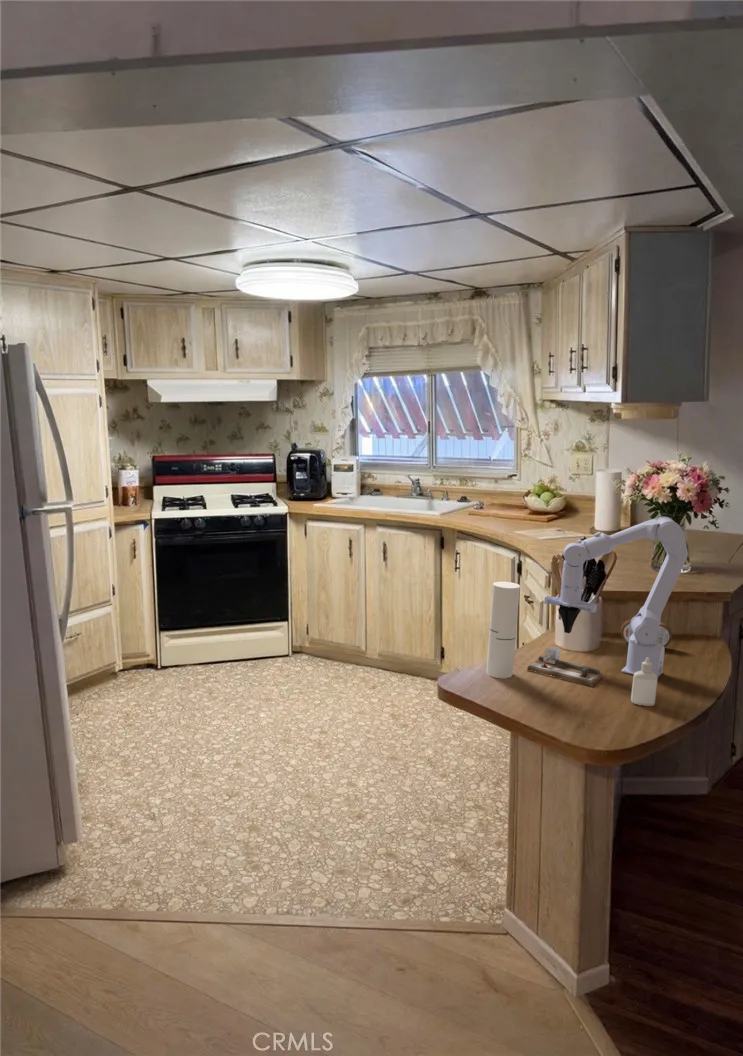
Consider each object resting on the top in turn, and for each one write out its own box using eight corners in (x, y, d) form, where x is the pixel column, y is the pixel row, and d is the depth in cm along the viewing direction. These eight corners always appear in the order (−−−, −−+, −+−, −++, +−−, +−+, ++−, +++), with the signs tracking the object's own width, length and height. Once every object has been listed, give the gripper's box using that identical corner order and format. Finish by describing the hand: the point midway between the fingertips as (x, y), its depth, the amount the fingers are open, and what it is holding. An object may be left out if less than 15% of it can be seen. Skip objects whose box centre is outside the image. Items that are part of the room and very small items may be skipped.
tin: (670, 648, 235) (673, 622, 234) (670, 651, 232) (673, 625, 231) (619, 641, 240) (622, 616, 238) (619, 644, 237) (622, 618, 235)
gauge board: (601, 677, 207) (603, 665, 207) (591, 686, 200) (592, 674, 199) (539, 662, 217) (540, 650, 216) (527, 670, 210) (528, 658, 209)
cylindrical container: (496, 667, 211) (503, 580, 207) (517, 674, 206) (525, 585, 202) (481, 672, 206) (487, 583, 202) (502, 680, 201) (509, 589, 197)
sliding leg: (559, 661, 214) (560, 647, 213) (549, 668, 208) (550, 654, 207) (548, 659, 215) (550, 645, 215) (539, 665, 209) (540, 652, 209)
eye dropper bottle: (651, 709, 187) (656, 662, 185) (628, 702, 190) (633, 657, 188) (656, 704, 190) (661, 658, 188) (634, 697, 193) (639, 653, 191)
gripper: (541, 584, 213) (538, 630, 216) (592, 592, 205) (588, 640, 208) (550, 579, 219) (547, 624, 221) (600, 588, 211) (596, 634, 213)
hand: (567, 632), depth 215 cm, fingers closed
